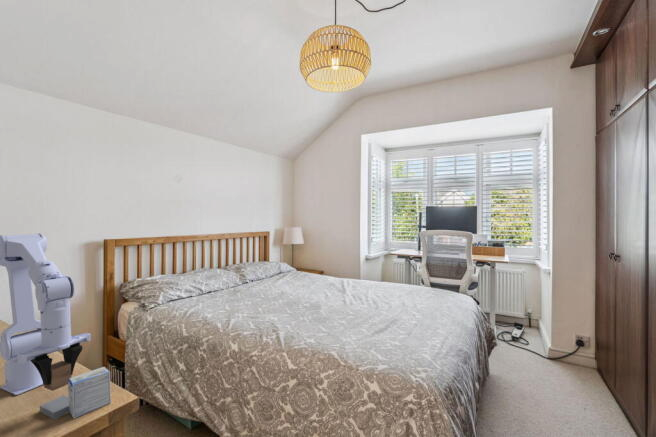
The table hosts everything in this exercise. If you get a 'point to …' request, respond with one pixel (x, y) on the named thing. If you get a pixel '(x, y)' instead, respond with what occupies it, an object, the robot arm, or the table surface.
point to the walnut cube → (59, 375)
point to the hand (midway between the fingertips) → (58, 379)
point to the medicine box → (89, 391)
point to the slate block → (56, 407)
